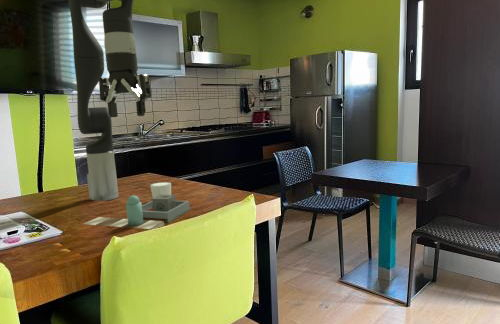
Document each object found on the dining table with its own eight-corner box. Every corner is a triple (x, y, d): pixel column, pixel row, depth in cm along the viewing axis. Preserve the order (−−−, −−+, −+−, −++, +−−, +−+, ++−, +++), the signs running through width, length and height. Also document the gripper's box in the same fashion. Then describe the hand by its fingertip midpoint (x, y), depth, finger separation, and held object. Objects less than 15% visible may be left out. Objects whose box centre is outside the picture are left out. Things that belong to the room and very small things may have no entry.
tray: (131, 220, 109) (130, 210, 108) (155, 208, 120) (154, 199, 120) (168, 223, 104) (167, 212, 104) (189, 210, 116) (189, 201, 115)
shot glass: (154, 208, 121) (152, 187, 120) (149, 203, 127) (147, 183, 126) (175, 204, 124) (173, 184, 123) (169, 200, 130) (168, 180, 129)
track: (82, 228, 104) (81, 224, 104) (99, 220, 110) (99, 216, 110) (149, 233, 96) (149, 229, 96) (164, 225, 103) (163, 220, 103)
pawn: (125, 225, 100) (121, 197, 99) (134, 220, 104) (131, 193, 103) (137, 226, 99) (134, 197, 98) (146, 221, 103) (143, 193, 102)
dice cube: (169, 215, 110) (167, 199, 109) (153, 215, 111) (152, 198, 110) (176, 210, 114) (175, 194, 114) (161, 210, 116) (160, 194, 115)
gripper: (88, 53, 94) (95, 118, 97) (135, 48, 90) (141, 116, 92) (108, 56, 101) (114, 116, 104) (153, 51, 97) (158, 114, 99)
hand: (127, 116), depth 98 cm, fingers open, 8 cm apart
